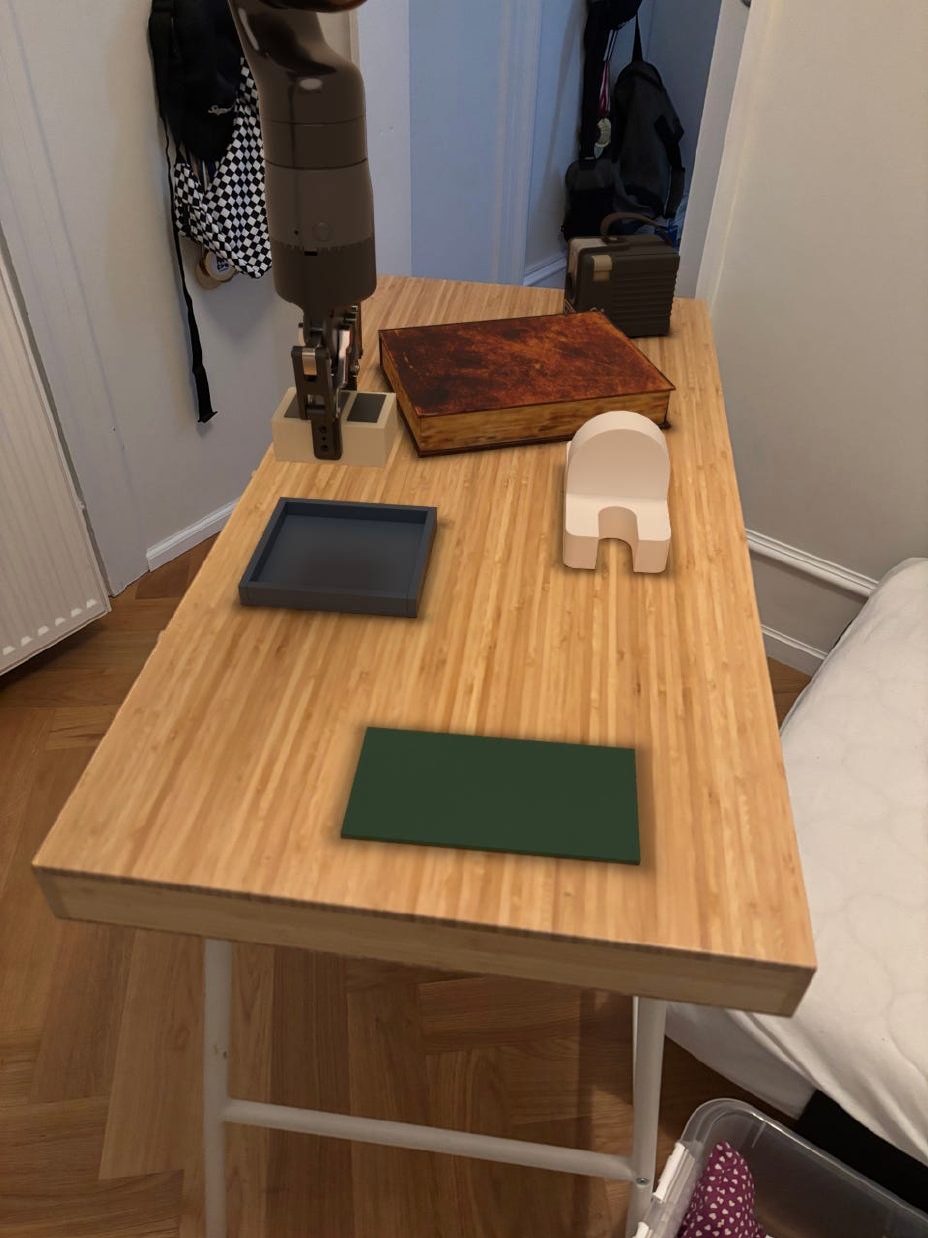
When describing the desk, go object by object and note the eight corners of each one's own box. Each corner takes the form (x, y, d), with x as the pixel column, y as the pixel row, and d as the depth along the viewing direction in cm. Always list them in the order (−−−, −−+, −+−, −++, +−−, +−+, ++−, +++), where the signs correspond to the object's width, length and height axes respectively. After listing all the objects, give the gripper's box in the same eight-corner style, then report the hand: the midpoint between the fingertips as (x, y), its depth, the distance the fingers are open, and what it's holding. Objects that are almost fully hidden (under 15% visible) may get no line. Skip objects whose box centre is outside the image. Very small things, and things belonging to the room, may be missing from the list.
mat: (340, 837, 63) (340, 833, 63) (367, 730, 71) (367, 726, 70) (639, 864, 62) (640, 861, 61) (634, 752, 69) (634, 748, 69)
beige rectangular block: (275, 461, 75) (270, 418, 73) (293, 425, 80) (289, 384, 78) (385, 468, 75) (384, 425, 72) (397, 431, 80) (396, 390, 77)
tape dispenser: (653, 474, 100) (668, 380, 94) (666, 573, 86) (685, 472, 80) (564, 468, 101) (572, 375, 94) (562, 567, 87) (572, 465, 80)
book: (596, 345, 126) (600, 309, 123) (670, 428, 108) (676, 388, 105) (379, 366, 120) (377, 329, 117) (419, 457, 102) (418, 416, 99)
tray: (240, 604, 82) (237, 585, 81) (282, 514, 93) (280, 496, 92) (416, 617, 81) (416, 598, 80) (437, 524, 92) (437, 506, 91)
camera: (554, 313, 135) (562, 203, 126) (645, 307, 137) (660, 199, 128) (575, 343, 127) (585, 228, 117) (672, 336, 129) (690, 223, 119)
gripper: (293, 195, 72) (311, 396, 83) (241, 256, 61) (270, 479, 72) (389, 200, 72) (395, 401, 82) (354, 261, 61) (367, 485, 71)
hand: (337, 436), depth 77 cm, fingers closed on beige rectangular block, 6 cm apart
